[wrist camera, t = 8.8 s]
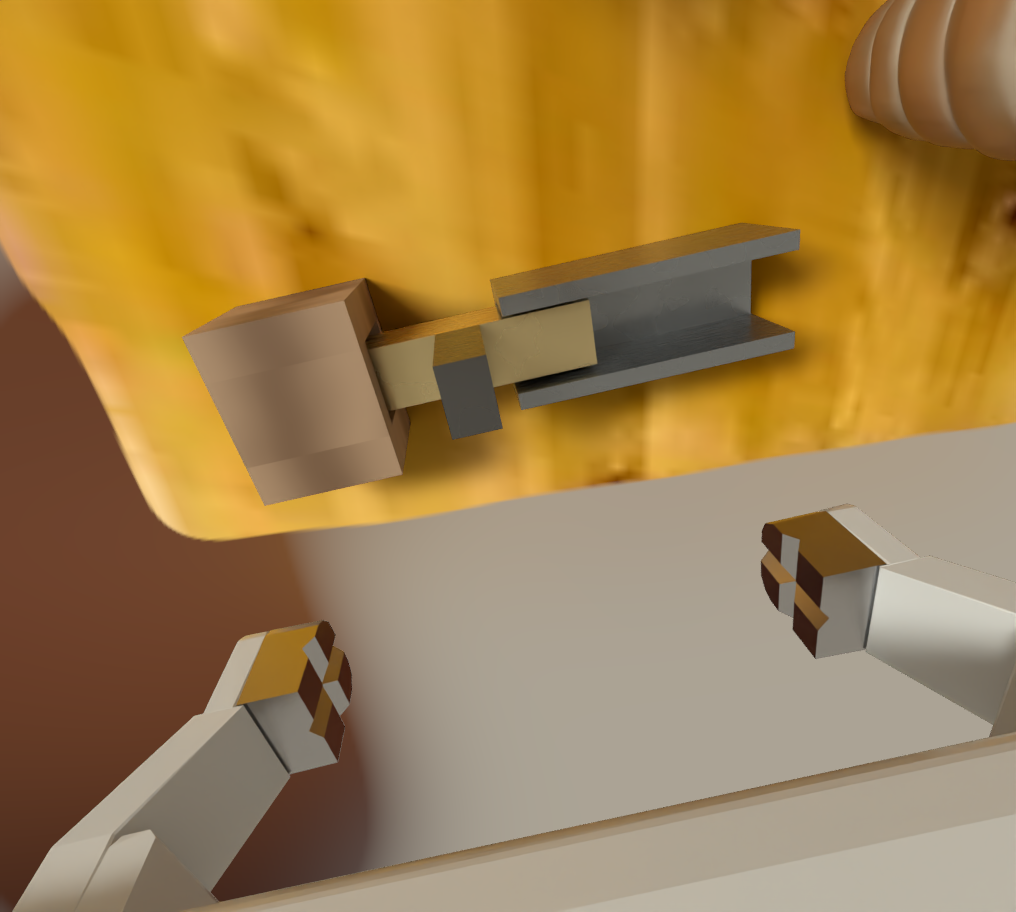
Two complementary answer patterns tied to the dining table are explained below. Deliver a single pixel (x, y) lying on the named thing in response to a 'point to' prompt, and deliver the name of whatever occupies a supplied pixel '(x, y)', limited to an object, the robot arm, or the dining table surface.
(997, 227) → the dining table surface
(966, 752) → the robot arm
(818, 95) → the dining table surface
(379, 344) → the tan grey t-shaped block
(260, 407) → the socket
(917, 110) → the cat ice cream
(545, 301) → the grey track with slider
